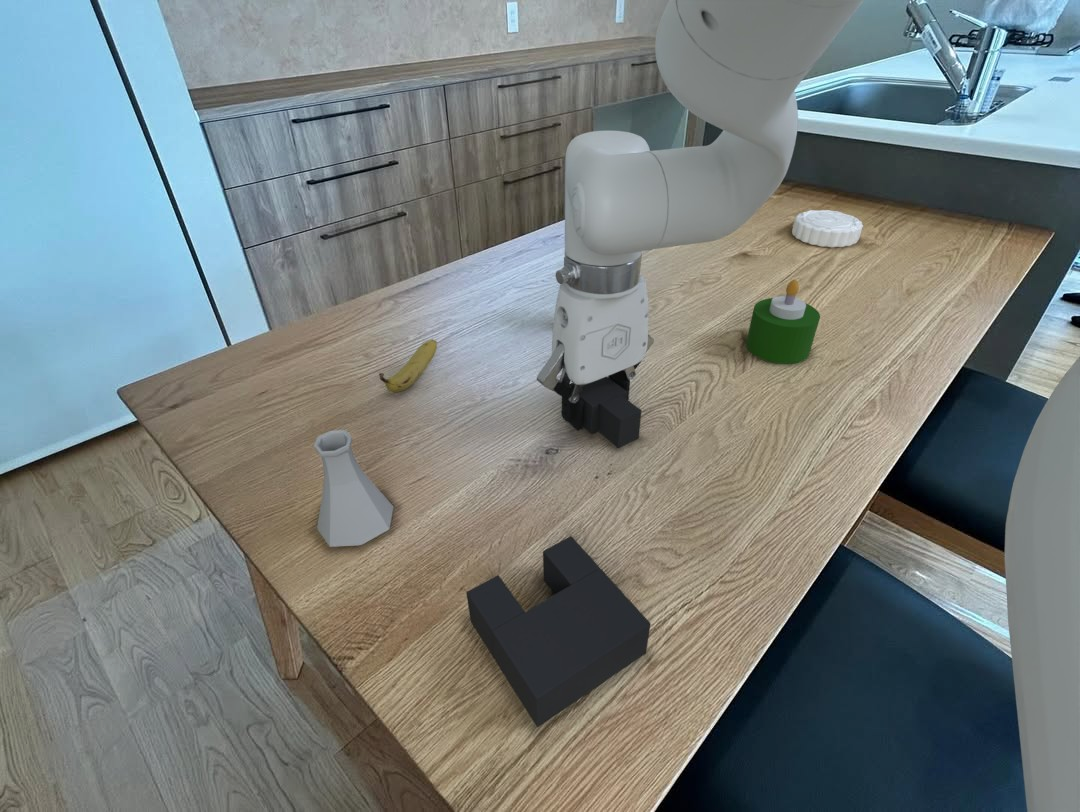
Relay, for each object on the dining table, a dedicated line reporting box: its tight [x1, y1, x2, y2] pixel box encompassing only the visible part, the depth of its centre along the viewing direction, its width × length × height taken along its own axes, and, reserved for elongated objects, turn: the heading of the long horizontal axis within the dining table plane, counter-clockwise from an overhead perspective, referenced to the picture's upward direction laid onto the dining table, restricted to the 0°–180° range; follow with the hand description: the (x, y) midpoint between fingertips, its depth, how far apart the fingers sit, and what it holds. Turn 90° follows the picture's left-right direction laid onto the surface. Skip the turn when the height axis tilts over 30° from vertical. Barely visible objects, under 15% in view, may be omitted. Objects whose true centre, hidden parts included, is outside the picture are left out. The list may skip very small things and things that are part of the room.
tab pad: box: [569, 376, 642, 449], centre depth 67 cm, size 9×5×4 cm, turn 33°
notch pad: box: [465, 535, 652, 728], centre depth 45 cm, size 10×10×4 cm
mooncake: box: [791, 209, 864, 249], centre depth 112 cm, size 12×12×4 cm
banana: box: [378, 339, 438, 393], centre depth 74 cm, size 10×2×4 cm, turn 148°
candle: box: [745, 279, 821, 365], centre depth 78 cm, size 8×8×10 cm
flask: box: [313, 429, 395, 548], centre depth 54 cm, size 7×7×10 cm
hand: (595, 412), depth 69 cm, fingers open, 5 cm apart
